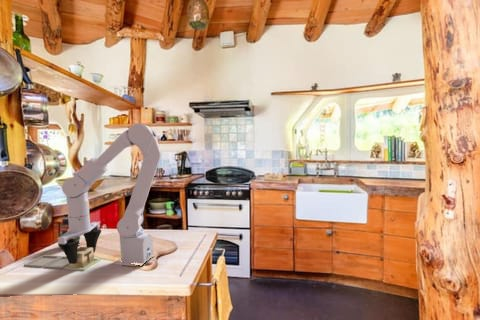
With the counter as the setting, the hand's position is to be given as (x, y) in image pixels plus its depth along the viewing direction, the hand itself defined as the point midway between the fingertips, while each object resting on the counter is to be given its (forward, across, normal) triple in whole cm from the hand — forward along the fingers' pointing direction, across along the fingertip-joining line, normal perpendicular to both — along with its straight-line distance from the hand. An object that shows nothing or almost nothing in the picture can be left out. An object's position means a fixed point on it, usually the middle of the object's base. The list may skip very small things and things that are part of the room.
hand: (82, 257), depth 85 cm
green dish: (+3, 0, 0) cm, 3 cm away
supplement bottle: (+3, -12, -16) cm, 20 cm away
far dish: (+3, 0, -15) cm, 15 cm away
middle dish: (+3, 0, -8) cm, 8 cm away
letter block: (+2, 0, 0) cm, 2 cm away
